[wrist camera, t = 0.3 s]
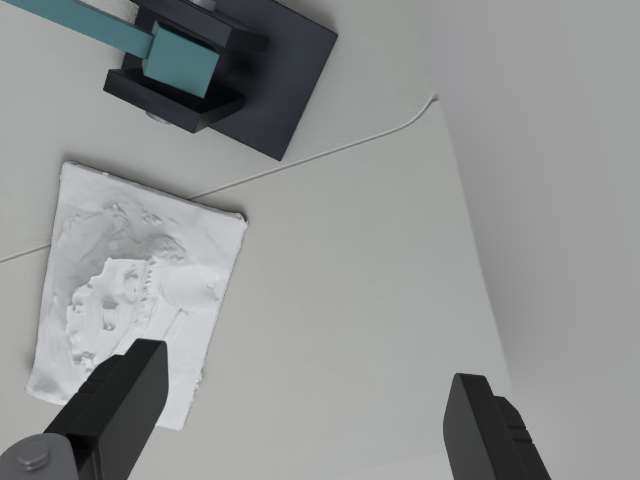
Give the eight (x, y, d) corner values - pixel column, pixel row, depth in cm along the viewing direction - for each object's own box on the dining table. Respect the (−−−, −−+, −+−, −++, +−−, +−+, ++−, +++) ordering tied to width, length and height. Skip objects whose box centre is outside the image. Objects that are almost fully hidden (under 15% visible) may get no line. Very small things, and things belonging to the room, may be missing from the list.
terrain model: (41, 388, 44) (4, 430, 39) (31, 150, 34) (-20, 168, 30) (216, 425, 44) (199, 471, 39) (252, 200, 35) (236, 225, 30)
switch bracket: (124, 81, 32) (10, 93, 21) (166, -56, 29) (58, -126, 18) (282, 158, 34) (252, 206, 23) (338, 35, 30) (335, 22, 19)
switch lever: (-112, -1, 18) (-139, 6, 17) (-96, -141, 17) (-124, -152, 15) (187, 111, 25) (193, 126, 23) (222, 17, 23) (231, 24, 21)
